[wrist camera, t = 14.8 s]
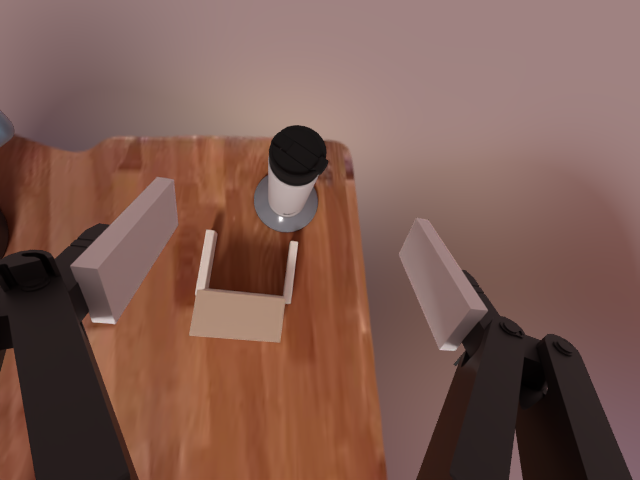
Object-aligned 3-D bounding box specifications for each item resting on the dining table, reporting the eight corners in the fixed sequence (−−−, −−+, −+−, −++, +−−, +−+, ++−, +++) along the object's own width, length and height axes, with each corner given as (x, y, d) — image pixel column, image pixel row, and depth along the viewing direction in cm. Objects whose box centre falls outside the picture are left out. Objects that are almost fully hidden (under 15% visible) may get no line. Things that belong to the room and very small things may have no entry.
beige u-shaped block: (210, 232, 47) (199, 223, 40) (296, 244, 50) (301, 237, 42) (193, 326, 45) (179, 334, 37) (285, 333, 47) (288, 343, 40)
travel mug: (292, 226, 49) (308, 190, 30) (260, 203, 49) (256, 152, 29) (312, 198, 50) (341, 146, 31) (282, 176, 50) (291, 109, 31)
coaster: (242, 187, 49) (242, 185, 49) (299, 162, 52) (299, 160, 51) (272, 243, 49) (272, 242, 48) (327, 215, 51) (328, 214, 51)
